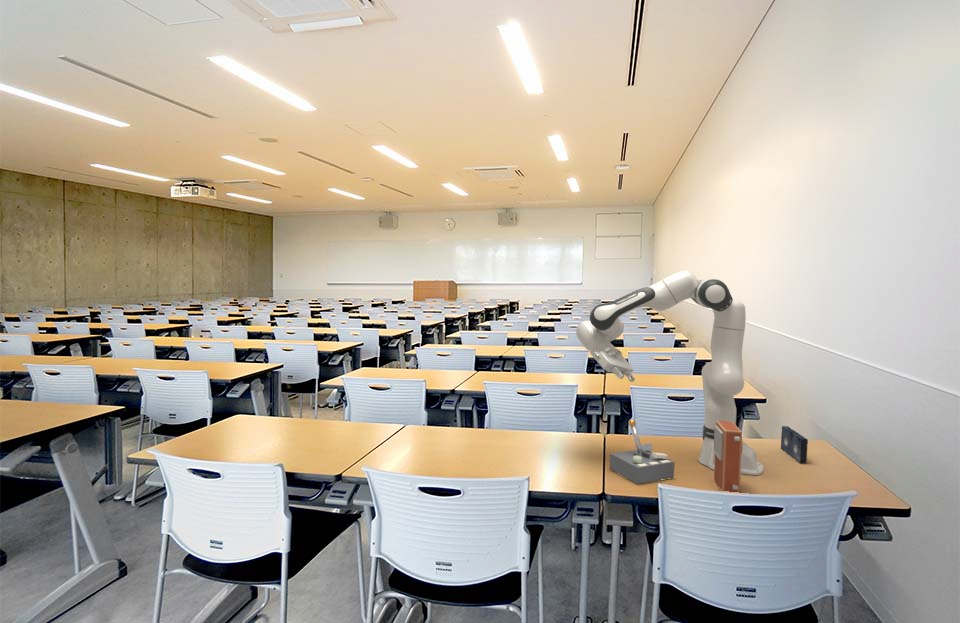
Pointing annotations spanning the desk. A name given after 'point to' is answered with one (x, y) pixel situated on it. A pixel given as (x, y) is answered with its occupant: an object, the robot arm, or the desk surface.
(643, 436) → the desk surface
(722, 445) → the orange box
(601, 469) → the desk surface
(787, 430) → the vhs cassette tape
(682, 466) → the desk surface
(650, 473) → the console
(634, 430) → the lever
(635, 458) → the button
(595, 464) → the desk surface
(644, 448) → the grey bar
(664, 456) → the block
